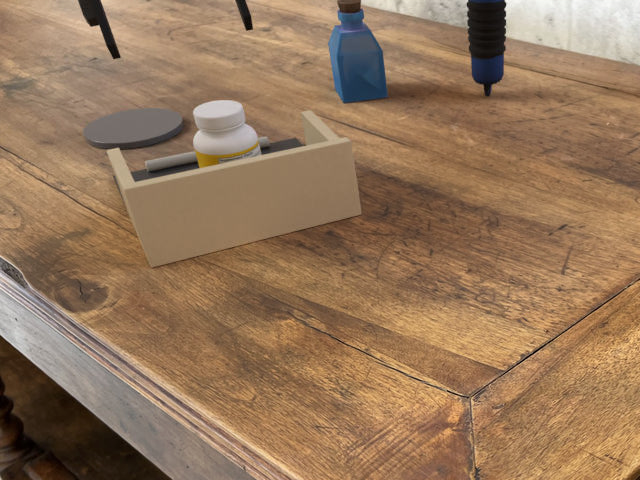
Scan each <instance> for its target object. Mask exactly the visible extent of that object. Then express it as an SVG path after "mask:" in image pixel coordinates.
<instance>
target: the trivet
mask: <svg viewBox="0 0 640 480" xmlns="http://www.w3.org/2000/svg"><path fill="white" fill-rule="evenodd" d="M184 127H185V122H184V118H183V116H182V115H181V113H179V112H178V111H175V110H172V109H168V108H162V107H161V108H160V107H141V108H133V109H126V110H121V111H116V112H111V113H109V114H106V115H103V116H100V117H98V118H96V119H95V120H92V121H90V122H89V123H88V124H87V125H86V126H85V127H84V128H83V129H82V136H83V139H84V141H85V142H86V144H88V145H90V146H91V147H93V148H97V149H104V150H109V149H115V148H119V149H120V150H130V149H137V148H144V147H149V146H152V145H156V144H158V143H162V142H164V141H167V140H169V139H171V138H173V137H176V136H177V135H178V134H179V133H181V131H182V130H183V129H184Z"/></svg>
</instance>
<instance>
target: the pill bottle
mask: <svg viewBox="0 0 640 480" xmlns="http://www.w3.org/2000/svg"><path fill="white" fill-rule="evenodd" d="M192 115H193V119H194V123H195V126H196V127H197V129H198V130H197V132H196V133H195V135H194V136H193V140H192V144H193V149H194V151H195V153H196V157H197V160H198V164H199V167H200V168H204V167H208V166H213V165H218V164H222V163H227V162H232V161H236V160H241V159H246V158H251V157H255V156H260V155H262V154H261V149H260V145H259V140H258V138H259V136H258V134H257V132H256V130H255V129H254V128H253V127H252V126H251V125H248V124H247V123H245V122H246V120H247V119H246V114H245V109H244V106H243V105H242V103H241V102H239V101H235V100H231V99H229V100H228V99H221V100H219V99H218V100H211V101H208V102H203V103H201V104H199V105H198V106H196V107H195V108H194V109H193V110H192Z"/></svg>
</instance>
